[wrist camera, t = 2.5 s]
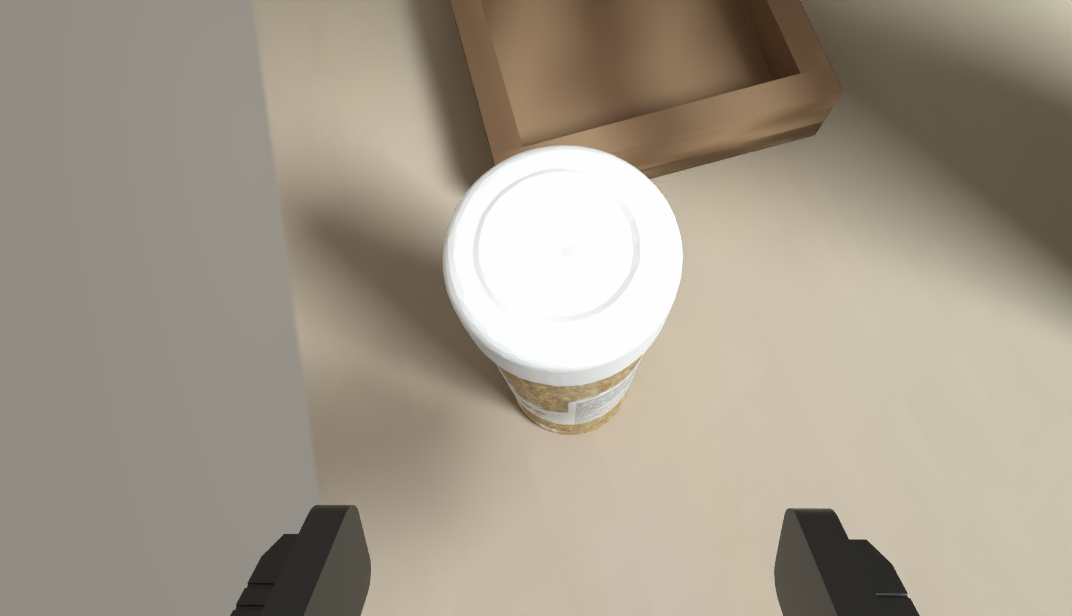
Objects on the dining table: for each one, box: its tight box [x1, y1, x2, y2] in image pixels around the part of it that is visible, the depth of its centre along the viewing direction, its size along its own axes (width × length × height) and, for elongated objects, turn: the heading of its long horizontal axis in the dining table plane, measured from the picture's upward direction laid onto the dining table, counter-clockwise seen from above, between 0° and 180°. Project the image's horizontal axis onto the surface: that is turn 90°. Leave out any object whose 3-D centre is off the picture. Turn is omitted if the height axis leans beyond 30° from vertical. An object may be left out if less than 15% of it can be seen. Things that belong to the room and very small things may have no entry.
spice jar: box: [442, 145, 683, 435], centre depth 18 cm, size 5×5×13 cm
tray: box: [450, 0, 843, 179], centre depth 27 cm, size 13×13×3 cm
